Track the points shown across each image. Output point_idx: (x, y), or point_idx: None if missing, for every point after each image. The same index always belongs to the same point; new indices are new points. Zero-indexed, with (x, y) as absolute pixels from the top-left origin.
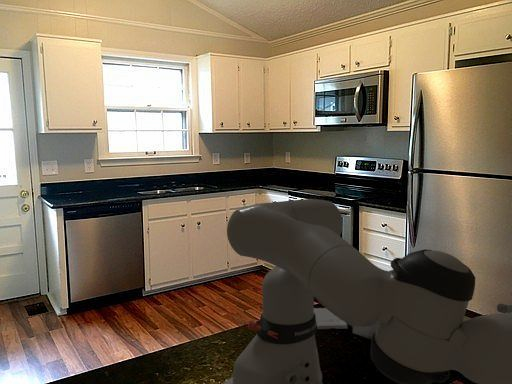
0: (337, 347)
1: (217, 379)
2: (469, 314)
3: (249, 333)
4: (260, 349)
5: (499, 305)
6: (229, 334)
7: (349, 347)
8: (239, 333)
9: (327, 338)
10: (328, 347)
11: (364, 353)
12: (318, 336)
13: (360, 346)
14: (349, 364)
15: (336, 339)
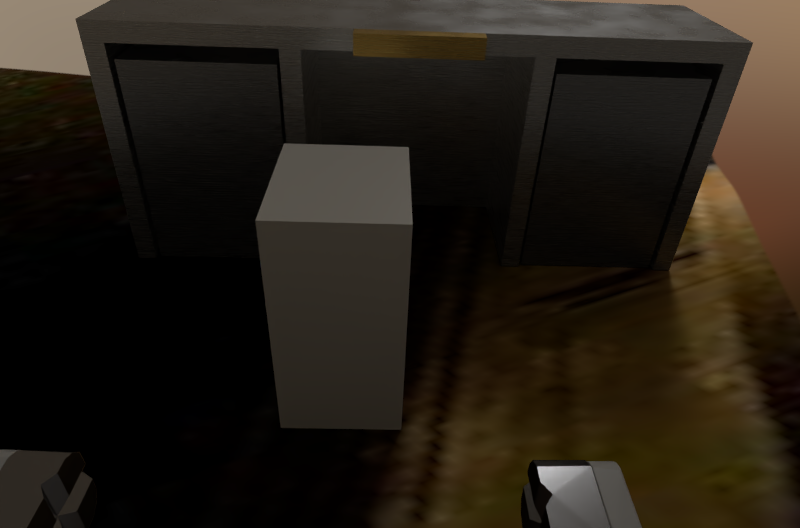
0: (27, 203)
1: None
2: (791, 377)
3: (34, 88)
4: None
5: (537, 479)
6: (8, 75)
7: (44, 220)
8: (24, 81)
9: (92, 171)
10: (15, 191)
11: (6, 260)
12: (95, 156)
13: (70, 235)
14: None
15: (97, 184)
